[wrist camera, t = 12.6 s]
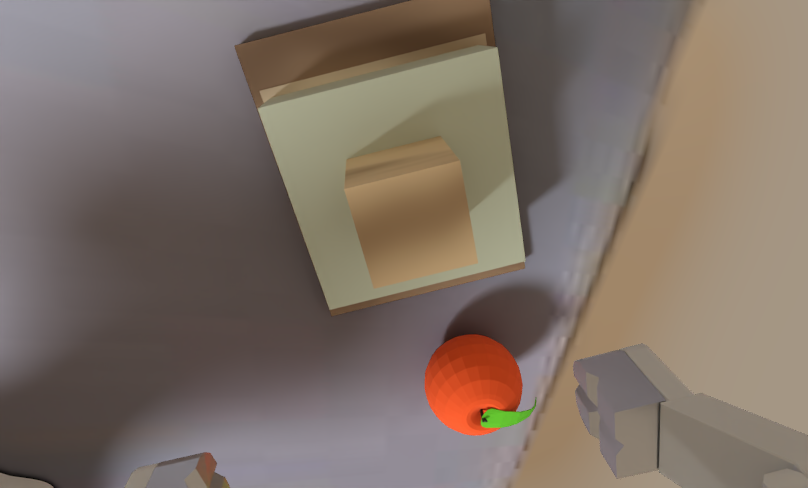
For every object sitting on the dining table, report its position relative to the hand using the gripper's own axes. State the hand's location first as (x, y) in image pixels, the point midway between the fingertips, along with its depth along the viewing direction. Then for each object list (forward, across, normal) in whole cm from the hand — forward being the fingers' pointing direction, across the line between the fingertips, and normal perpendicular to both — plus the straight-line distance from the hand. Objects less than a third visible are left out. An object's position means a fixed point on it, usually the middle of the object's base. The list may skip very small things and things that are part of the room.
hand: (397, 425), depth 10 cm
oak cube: (+16, +2, 0) cm, 16 cm away
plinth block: (+20, +2, 0) cm, 20 cm away
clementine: (+22, +4, -16) cm, 27 cm away
